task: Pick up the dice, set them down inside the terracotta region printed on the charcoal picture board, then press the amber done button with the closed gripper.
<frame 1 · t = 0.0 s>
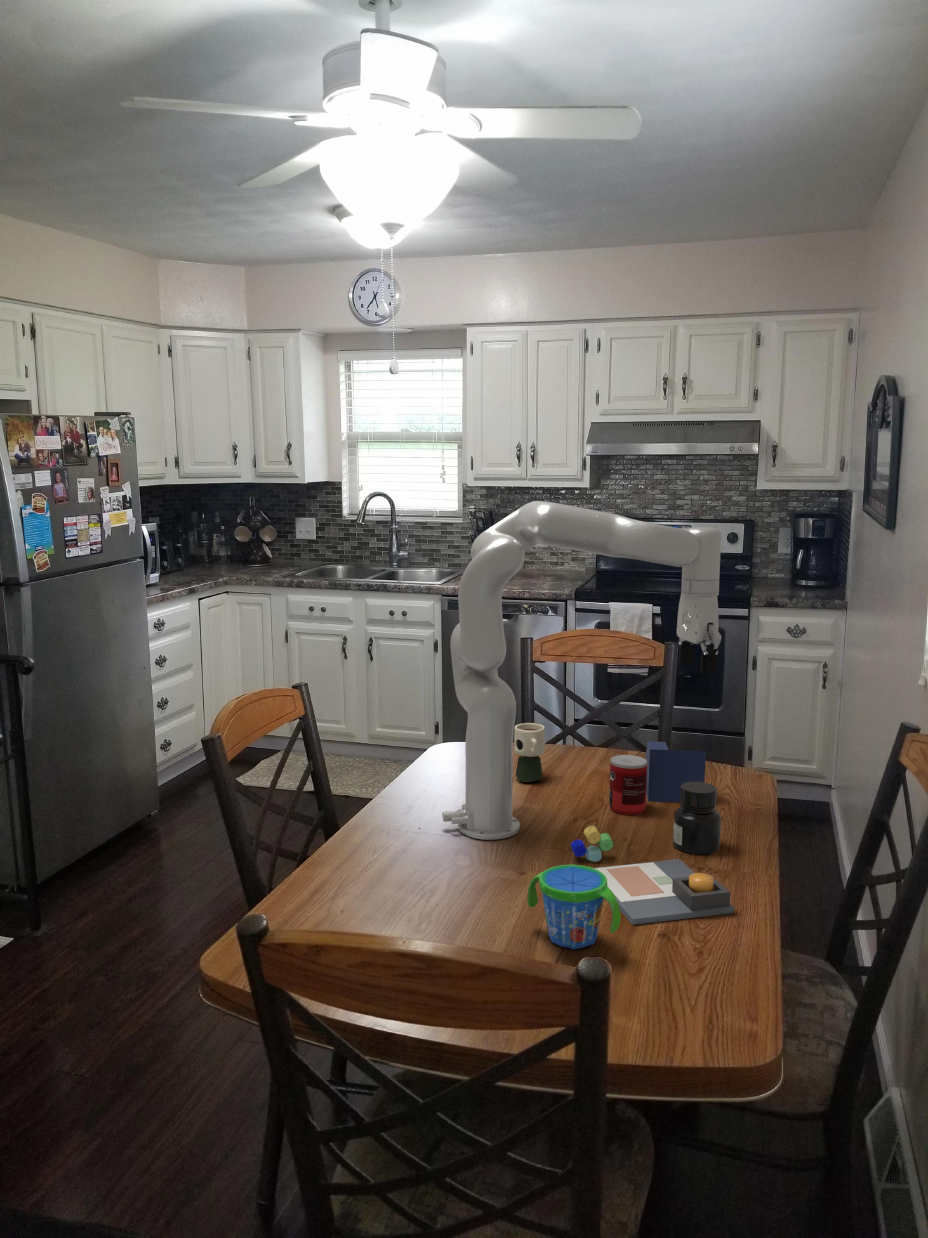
hand: (696, 668, 199), 31 cm above the table, tool pointing down, fingers open, 9 cm apart
phone stand: (672, 794, 215), on the table
snack cup: (572, 940, 149), on the table
colouring board: (657, 892, 165), on the table
character mug: (529, 781, 223), on the table
dice: (591, 860, 179), on the table
done button: (701, 884, 160), point 4 cm above the table, slide at 0.0 cm
canned food: (627, 810, 205), on the table
ink bottle: (696, 847, 185), on the table
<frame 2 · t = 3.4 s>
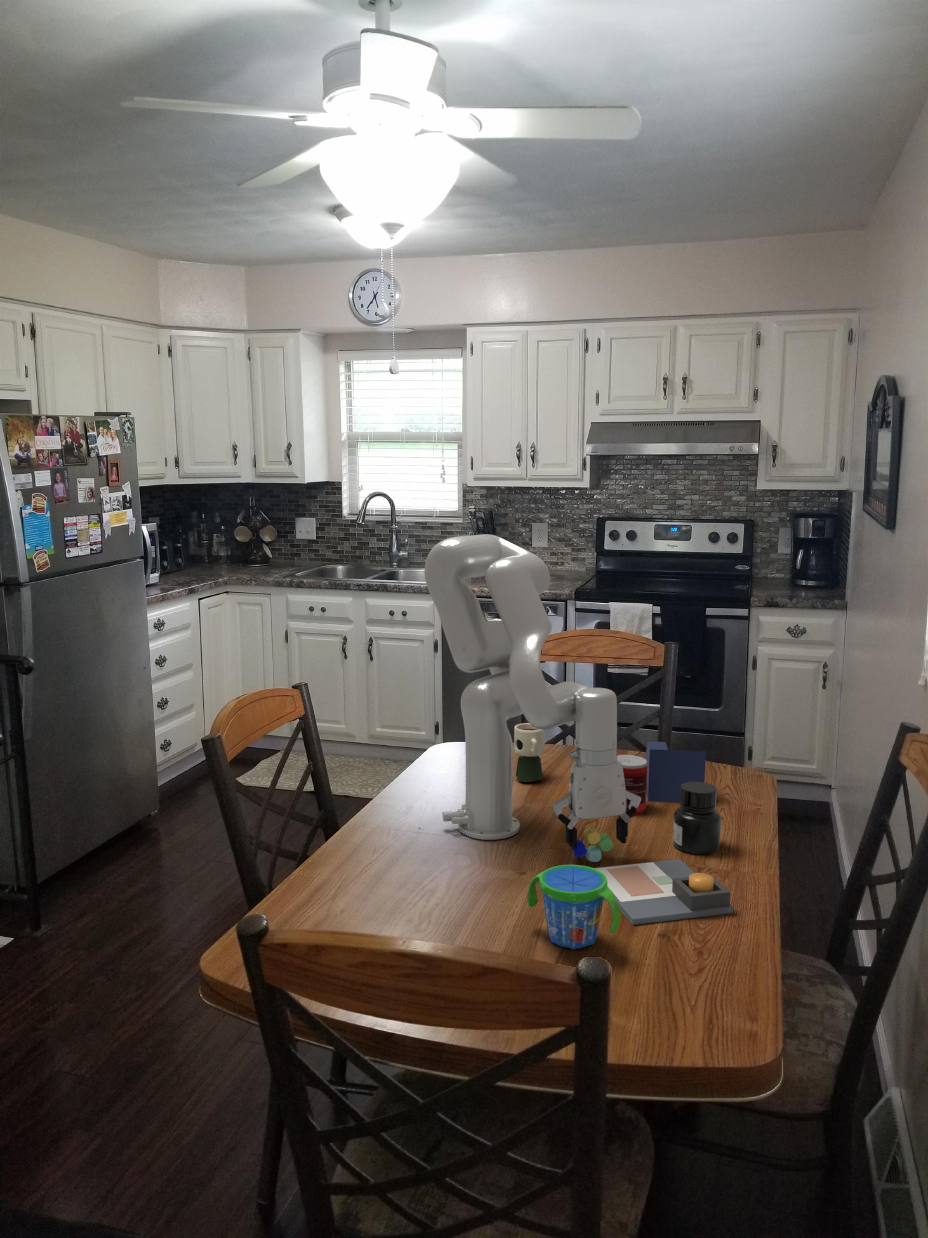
hand: (596, 844, 178), 3 cm above the table, tool pointing down, fingers open, 9 cm apart
dice: (591, 860, 179), on the table, touching gripper
everything else where it was.
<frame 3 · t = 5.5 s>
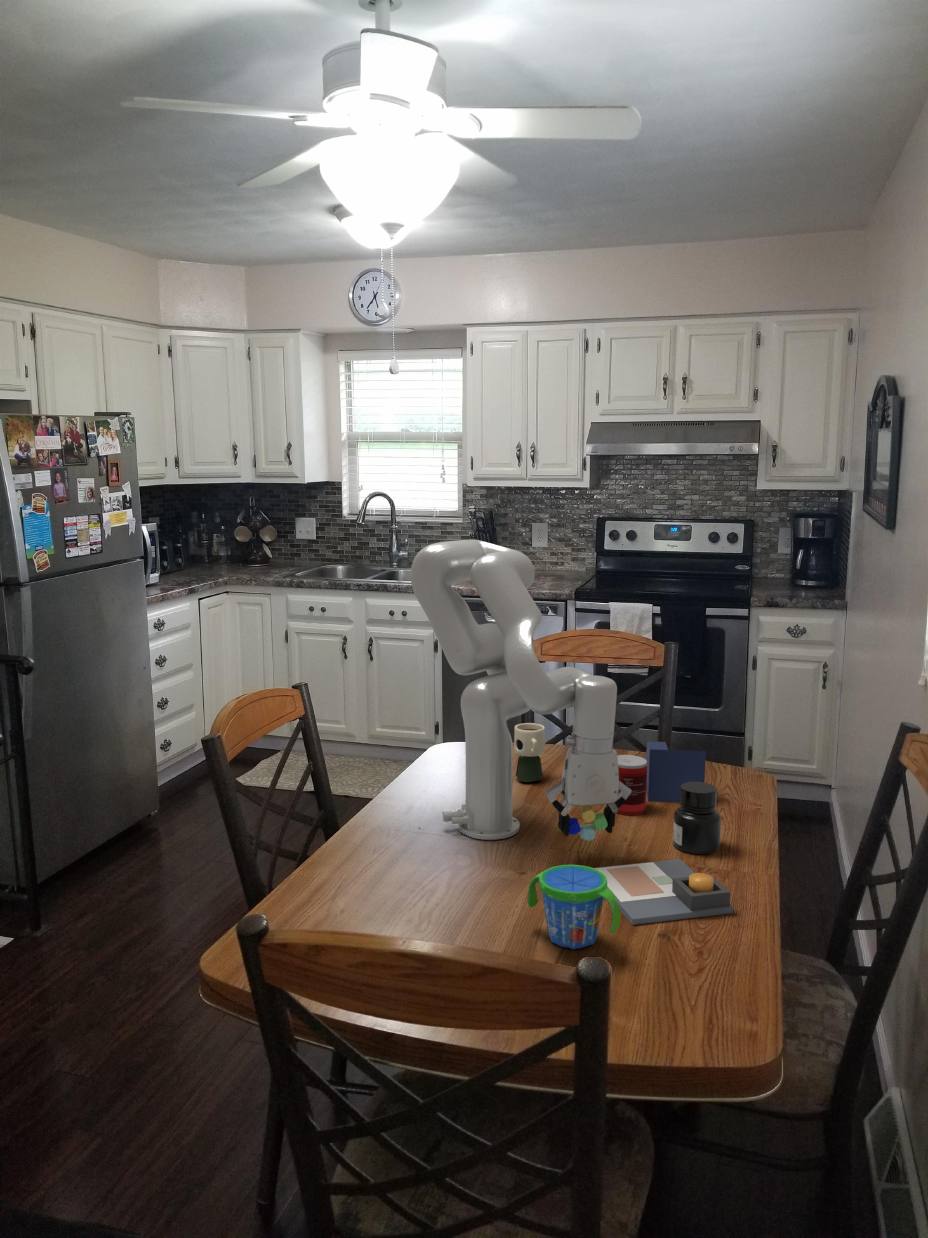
hand: (585, 831, 179), 5 cm above the table, tool pointing down, fingers closed on dice, 8 cm apart
dice: (585, 838, 179), point 4 cm above the table, touching gripper
everything else where it was.
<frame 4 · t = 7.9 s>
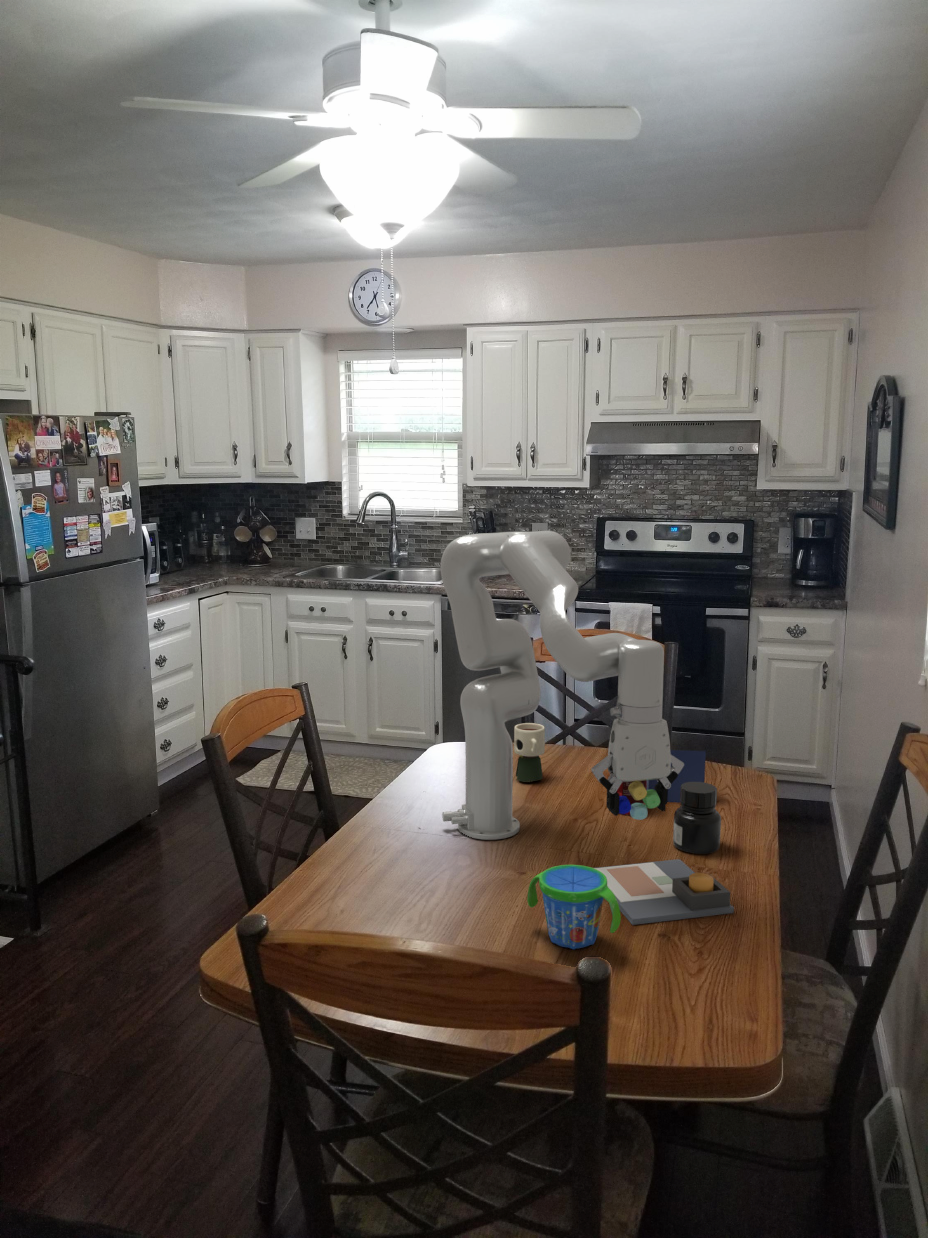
hand: (636, 810, 165), 14 cm above the table, tool pointing down, fingers closed on dice, 8 cm apart
dice: (636, 818, 165), point 13 cm above the table, touching gripper
everything else where it was.
when the fingers open (3 cm above the table, at t = 11.2 s): dice stays where it is, resting on colouring board.
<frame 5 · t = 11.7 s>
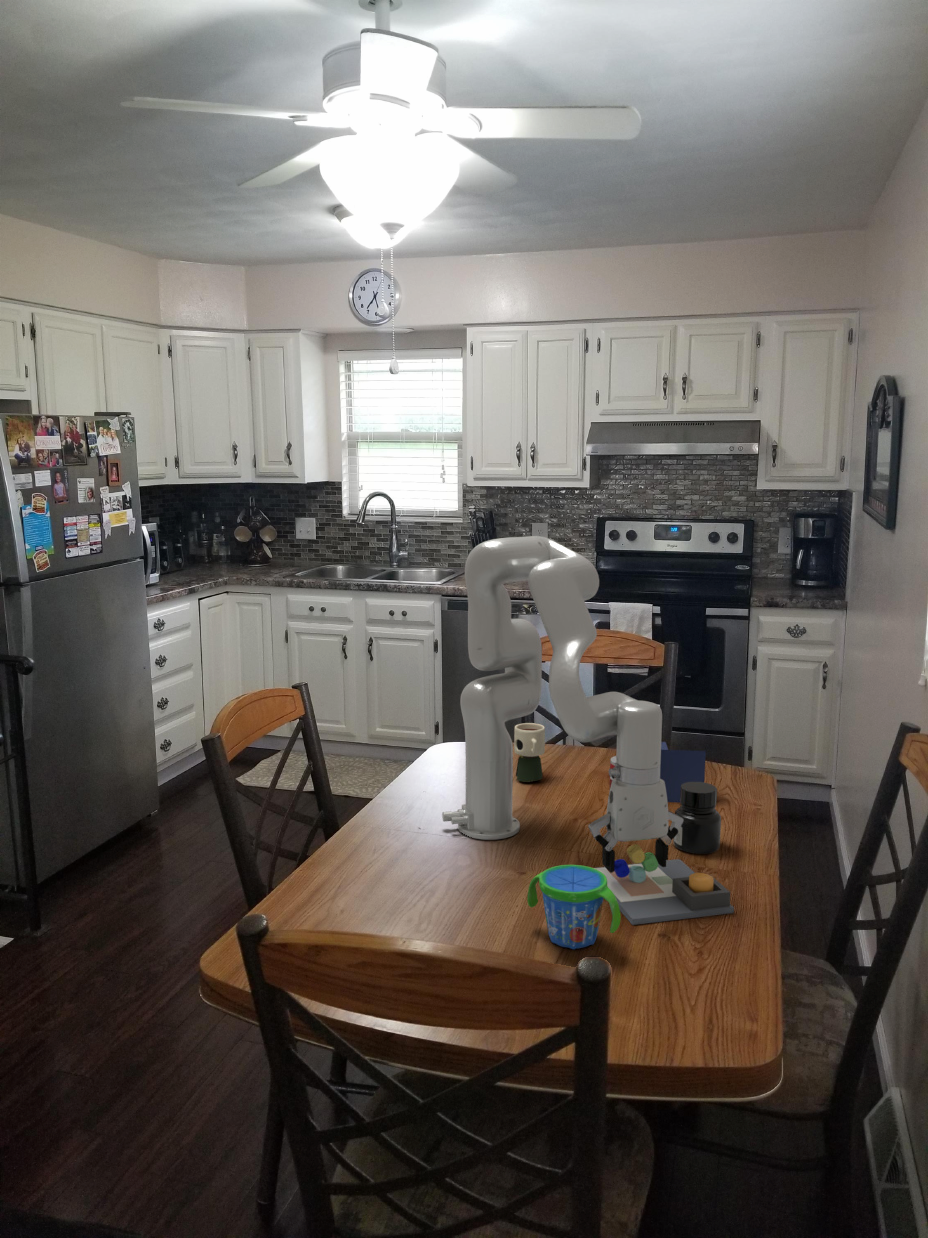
hand: (634, 866, 166), 4 cm above the table, tool pointing down, fingers open, 9 cm apart
dice: (635, 881, 167), point 1 cm above the table, touching colouring board
everything else where it was.
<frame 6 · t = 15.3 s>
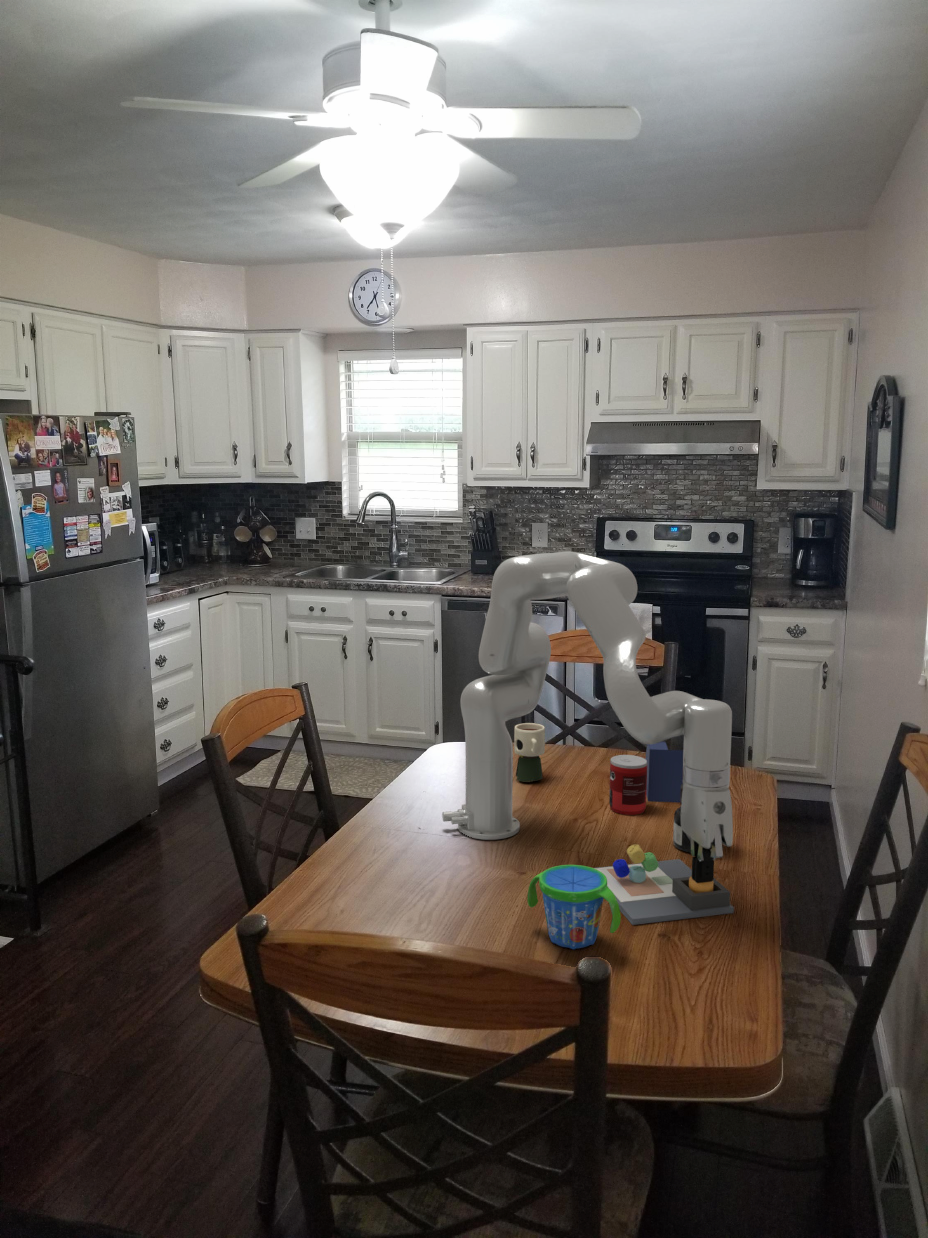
hand: (702, 880, 159), 4 cm above the table, tool pointing down, fingers closed
done button: (701, 886, 160), point 3 cm above the table, slide at 0.4 cm, touching gripper
everything else where it was.
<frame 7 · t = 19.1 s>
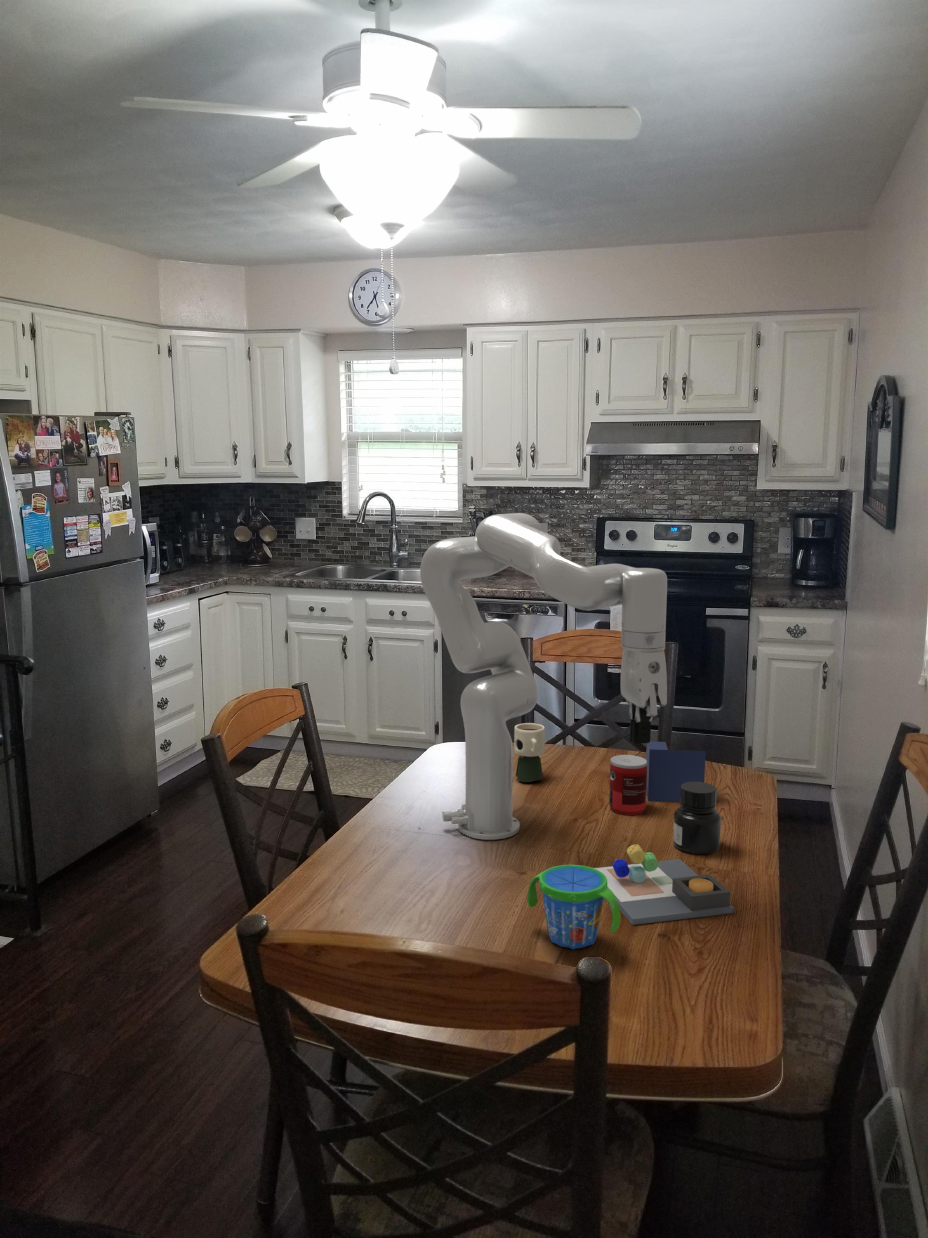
hand: (640, 742, 167), 25 cm above the table, tool pointing down, fingers closed
done button: (700, 890, 160), point 3 cm above the table, slide at 1.0 cm
everything else where it was.
at the end: dice 0.1 cm from the target spot on the colouring board, point 1.0 cm above the colouring board's base; dice tilted 0°; done button slide at 1.0 cm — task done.
